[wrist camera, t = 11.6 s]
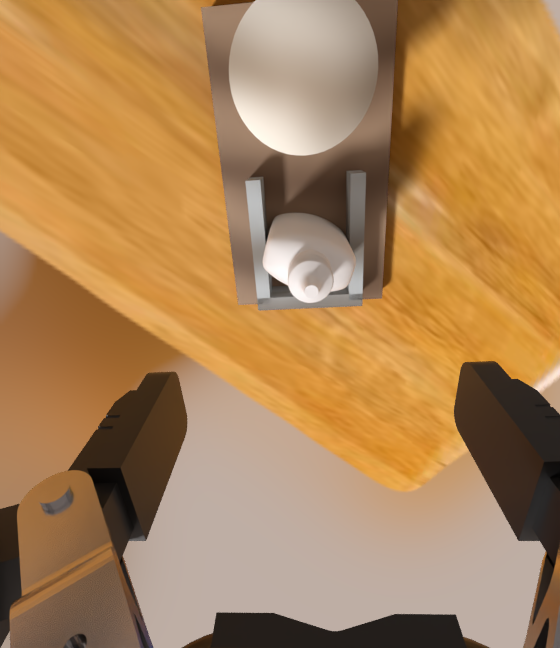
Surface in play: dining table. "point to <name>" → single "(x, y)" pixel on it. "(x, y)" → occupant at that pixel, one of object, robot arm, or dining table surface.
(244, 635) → the robot arm
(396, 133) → the dining table surface
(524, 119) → the dining table surface
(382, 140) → the board
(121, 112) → the dining table surface
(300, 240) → the eye dropper bottle
